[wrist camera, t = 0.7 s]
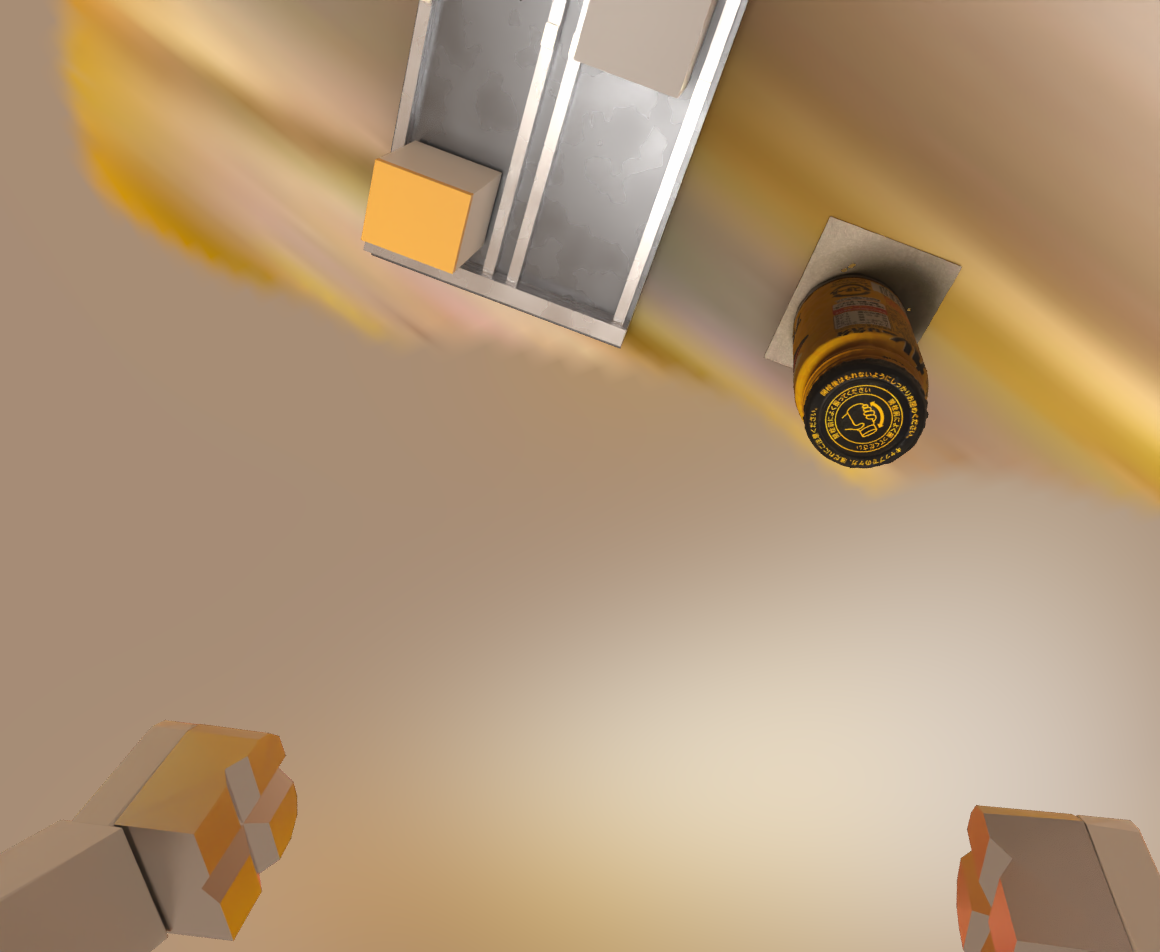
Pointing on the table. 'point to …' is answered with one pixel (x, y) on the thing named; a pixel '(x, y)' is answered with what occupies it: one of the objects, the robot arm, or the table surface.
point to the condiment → (861, 343)
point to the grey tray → (554, 153)
